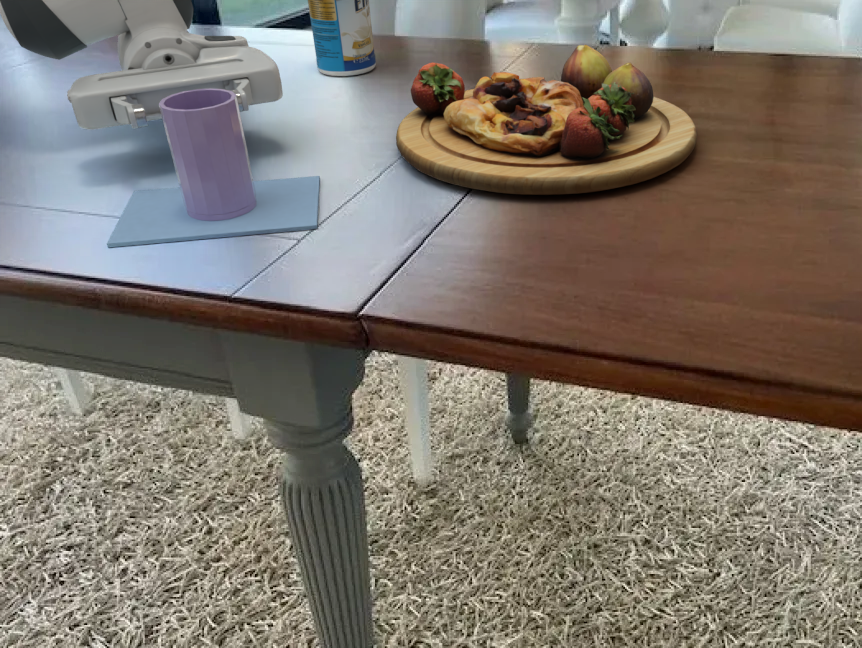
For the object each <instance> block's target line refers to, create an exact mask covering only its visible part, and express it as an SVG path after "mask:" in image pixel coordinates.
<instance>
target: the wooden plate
mask: <svg viewBox="0 0 862 648" xmlns="http://www.w3.org/2000/svg"><path fill="white" fill-rule="evenodd" d="M490 76H491V77H489V76H482V77H481V78H479V80H478V81H477V83H476V85H475V86H474V88H472V89H471V88H470V89H466V87H465V82H464V80H463V77H462V76H460V74H458V73H457V72H456V71H455V70H454V69H453V68H452V67H449V66H447V65H446V64H444V63H438V62H429V63H427V64H424V65H423V66H421V68H420V69H419V70H418V72H417V75H416V76H415V77H414V79H413V81H412V85H411V88H410V96H411V99H412V102H413V104H414V105H415V106H416V108H414V109H413V110H411V111H410V112H408V114H407V115H405V117H404V118H402V119H401V121H400V123H399V124H398V127H397V130H396V133H395V134H396V135H395V142H396V148H397V150H398V153H399V154H400V155H401V157H402V158H403V159H404V160H405V161H406V163H408V164H409V165H410V166H411V167H413V168H414V169H416V170H417V171H419V172H421V174H424V175H427V176H429V177H431V178H433V179H436V180H438V181H442V182H444V183H449V184H452V185H454V186H459V187H463V188H468V189H473V190H480V191H486V192H490V193H491V192H492V193H499V194H509V195H527V196H528V195H529V196H530V195H532V196H533V195H534V196H535V195H536V196H549V195H550V196H552V195H572V194H573V195H576V194H588V193H595V192H600V191H606V190H607V191H608V190H614V189H618V188H623V187H628V186H632V185H635V184H639V183H642V182H645V181H648V180H652V179H654V178H657V177H658V176H660V175H663V174H665V173H667V172H669V171H672V170H673V169H674V168H677V167H678V166H680V165H681V164H682V163H683V162H684V161H686V159H688V157H689V156H690V155H691V153H692V152H693V150H694V149H695V147H696V144H697V139H698V132H697V127H696V124H695V123H694V121H693V119H692V118H691V117H690V116H689V115H688V113H687V112H686V111H684V110H683V109H681V108H680V107H678V106H677V105H675V104H673V103H671V102H668V101H666V100H664V99H661V98H658V97H656V96H654V89H653V85H652V84H651V83H652V82H651V81H650V79H649V78H648V77H647V75H646V74H645V73H644V72H642V71H641V69H638V68H637V67H636V66H634V64H632V63H631V62H625V63H624V64H622V65H621V66H619V67H617V68H615V69H614V70H612V67H611V65H610V63H609V62H608V60H607V58H606V57H605V56H603V55H602V53H600V52H599V51H598V50H596V49H594V48H593V47H592V46H589V45H587V44H584V45H582V44H579V45H577V46H576V47H575V48H574V49H573V51H572V53H571V54H570V56H569V57H568V58H567V60H565V62H564V65H563V67H562V71H561V74H560V80H555V79H551V80H548V81H547V80H546V78H545V77H544V76H533V77H525V78H520V75H518V74H515V73H512V72H507V71H501V72H500V71H499V72H496V71H494V72H493V73H492V75H490Z"/></svg>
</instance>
